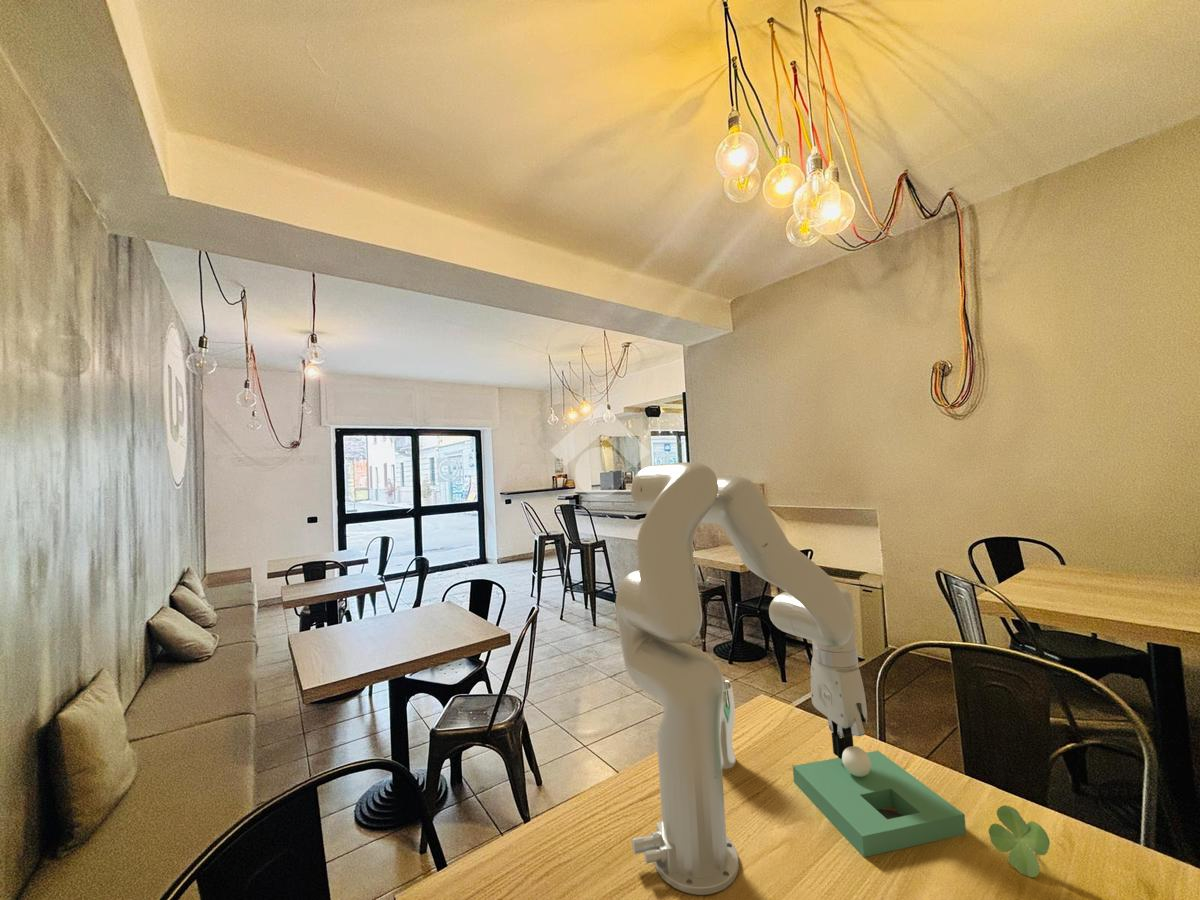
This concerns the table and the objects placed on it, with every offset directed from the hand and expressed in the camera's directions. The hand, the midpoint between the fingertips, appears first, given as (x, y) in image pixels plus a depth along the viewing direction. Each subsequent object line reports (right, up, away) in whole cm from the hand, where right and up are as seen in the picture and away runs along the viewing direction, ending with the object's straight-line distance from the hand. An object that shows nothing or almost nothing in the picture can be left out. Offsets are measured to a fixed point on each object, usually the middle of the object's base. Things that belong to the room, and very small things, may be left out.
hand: (843, 754), depth 90 cm
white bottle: (-21, -6, +7) cm, 23 cm away
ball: (0, +1, -4) cm, 4 cm away
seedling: (+19, -3, -18) cm, 26 cm away
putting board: (+1, -4, -8) cm, 9 cm away
